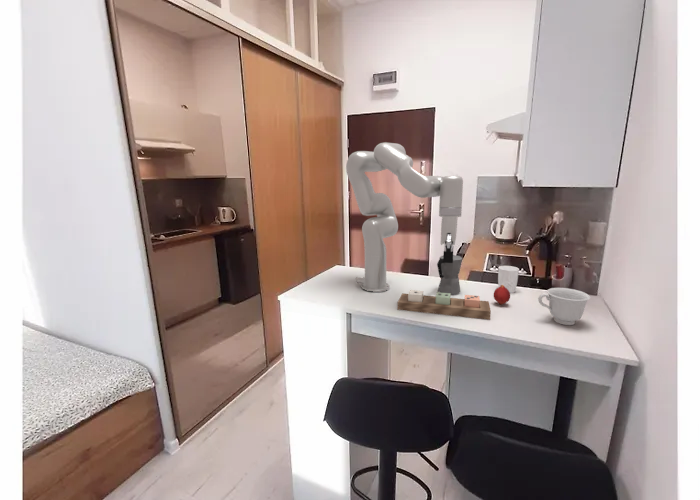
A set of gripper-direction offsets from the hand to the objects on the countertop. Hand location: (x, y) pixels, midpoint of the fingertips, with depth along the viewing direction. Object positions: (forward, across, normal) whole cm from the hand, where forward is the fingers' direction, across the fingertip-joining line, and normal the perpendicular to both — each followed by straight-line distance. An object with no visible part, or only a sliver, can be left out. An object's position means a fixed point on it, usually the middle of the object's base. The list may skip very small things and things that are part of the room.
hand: (448, 259), depth 119 cm
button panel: (+19, +1, -1) cm, 19 cm away
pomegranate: (+19, -10, +20) cm, 29 cm away
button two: (+17, +1, -1) cm, 17 cm away
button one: (+16, +1, -11) cm, 20 cm away
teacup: (+19, +2, +37) cm, 42 cm away
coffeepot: (+19, -19, 0) cm, 27 cm away
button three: (+17, +1, +9) cm, 19 cm away
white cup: (+19, -28, +24) cm, 41 cm away
